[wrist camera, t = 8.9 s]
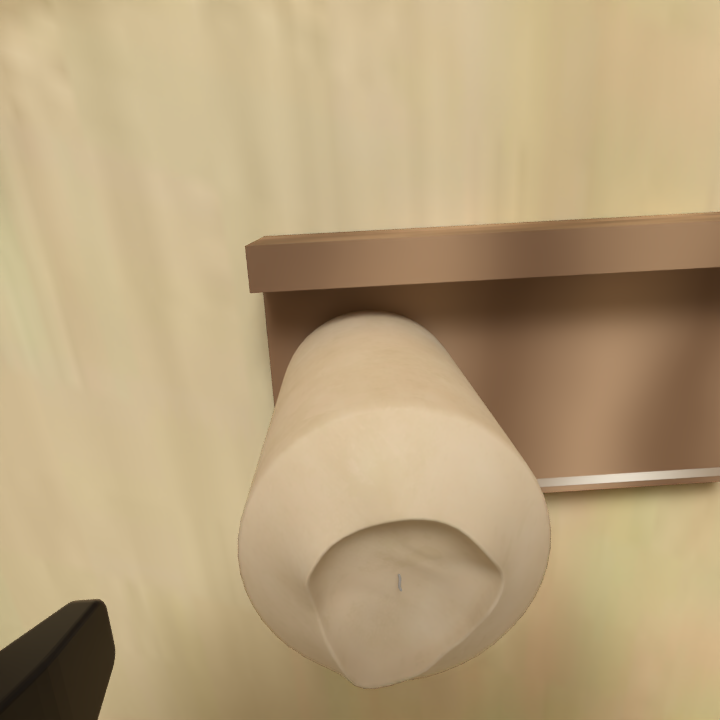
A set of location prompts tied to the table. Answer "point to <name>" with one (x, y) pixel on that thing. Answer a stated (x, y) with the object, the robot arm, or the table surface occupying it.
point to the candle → (388, 508)
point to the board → (539, 330)
